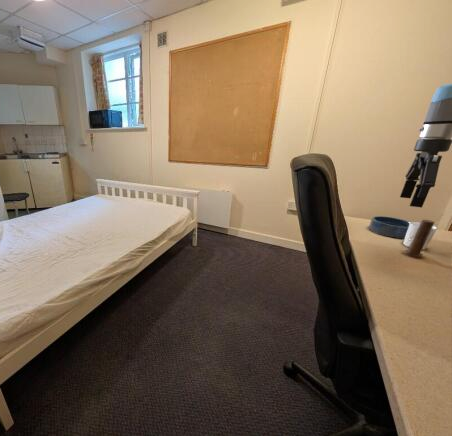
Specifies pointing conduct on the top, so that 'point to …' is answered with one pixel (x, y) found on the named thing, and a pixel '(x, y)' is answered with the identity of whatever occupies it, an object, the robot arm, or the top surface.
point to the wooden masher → (420, 239)
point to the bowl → (389, 226)
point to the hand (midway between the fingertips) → (409, 202)
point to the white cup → (412, 232)
